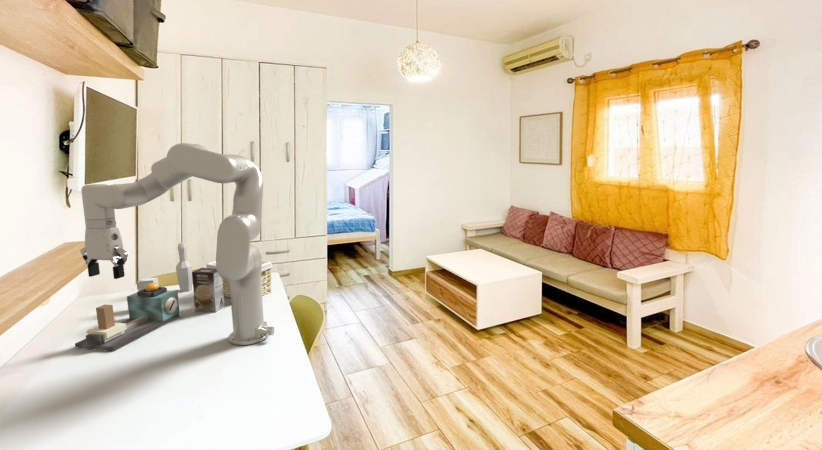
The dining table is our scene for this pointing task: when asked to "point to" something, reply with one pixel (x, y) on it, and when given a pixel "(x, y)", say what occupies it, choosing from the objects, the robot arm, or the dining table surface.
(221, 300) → the coffee box
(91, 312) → the dining table surface
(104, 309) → the carriage
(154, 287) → the orange rounded knob
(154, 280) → the skincare box
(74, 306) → the dining table surface
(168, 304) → the rail board
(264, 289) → the storage basket
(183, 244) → the faceted bottle
